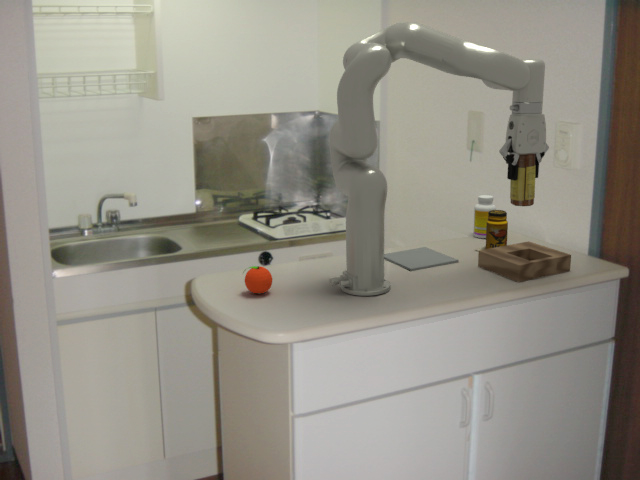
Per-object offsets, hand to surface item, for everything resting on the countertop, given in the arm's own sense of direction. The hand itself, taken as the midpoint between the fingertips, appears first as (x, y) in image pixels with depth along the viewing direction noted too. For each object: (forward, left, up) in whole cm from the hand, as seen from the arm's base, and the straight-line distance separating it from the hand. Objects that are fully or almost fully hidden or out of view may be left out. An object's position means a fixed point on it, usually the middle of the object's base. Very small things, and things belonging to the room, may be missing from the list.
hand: (522, 177), depth 196 cm
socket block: (+2, 0, -25) cm, 25 cm away
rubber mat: (-17, +22, -25) cm, 37 cm away
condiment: (+7, +18, -25) cm, 32 cm away
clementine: (-68, +19, -25) cm, 75 cm away
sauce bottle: (0, 0, -7) cm, 7 cm away
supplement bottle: (+15, +32, -25) cm, 43 cm away
